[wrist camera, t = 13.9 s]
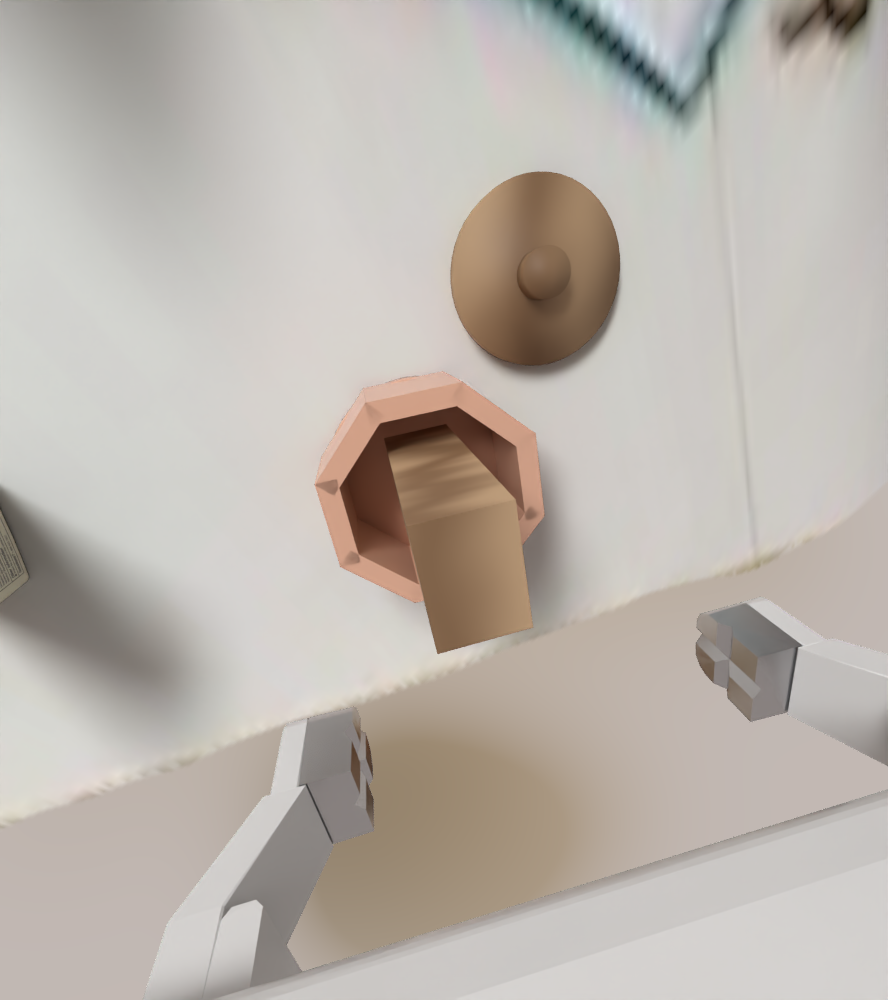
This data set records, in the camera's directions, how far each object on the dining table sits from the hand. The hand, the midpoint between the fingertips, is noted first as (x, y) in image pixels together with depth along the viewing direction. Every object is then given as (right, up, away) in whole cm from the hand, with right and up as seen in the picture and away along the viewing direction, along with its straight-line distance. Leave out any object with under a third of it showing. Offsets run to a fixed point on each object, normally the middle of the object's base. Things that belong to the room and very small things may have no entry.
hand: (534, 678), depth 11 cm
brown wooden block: (-3, +6, +16) cm, 17 cm away
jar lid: (+3, +16, +14) cm, 22 cm away
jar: (-3, +6, +17) cm, 18 cm away
